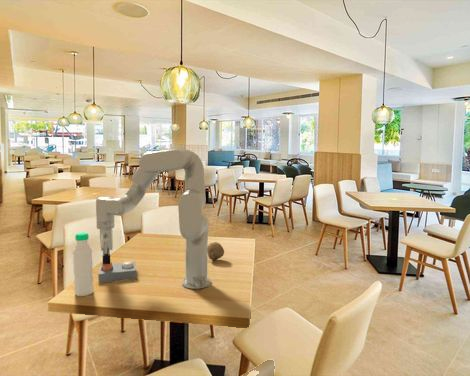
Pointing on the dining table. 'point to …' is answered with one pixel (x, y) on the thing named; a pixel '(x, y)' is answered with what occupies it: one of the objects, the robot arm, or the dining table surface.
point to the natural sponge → (215, 251)
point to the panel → (117, 273)
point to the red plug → (106, 266)
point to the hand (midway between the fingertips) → (106, 263)
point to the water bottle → (83, 266)
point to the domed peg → (127, 265)
